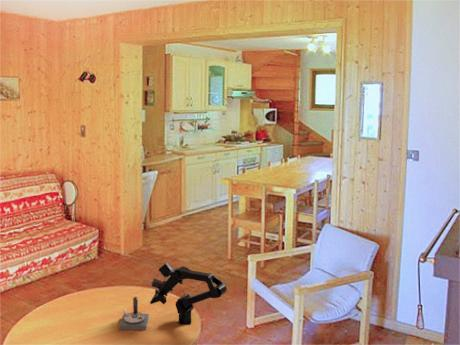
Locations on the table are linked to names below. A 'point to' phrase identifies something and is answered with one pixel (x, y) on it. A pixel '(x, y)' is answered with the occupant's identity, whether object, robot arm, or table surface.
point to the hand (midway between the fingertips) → (150, 303)
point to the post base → (129, 326)
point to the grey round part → (134, 314)
